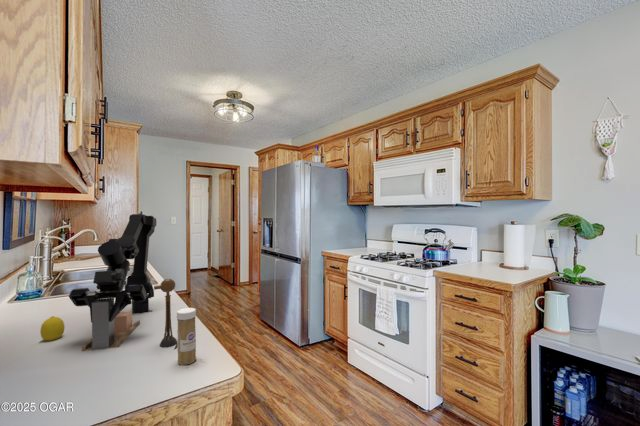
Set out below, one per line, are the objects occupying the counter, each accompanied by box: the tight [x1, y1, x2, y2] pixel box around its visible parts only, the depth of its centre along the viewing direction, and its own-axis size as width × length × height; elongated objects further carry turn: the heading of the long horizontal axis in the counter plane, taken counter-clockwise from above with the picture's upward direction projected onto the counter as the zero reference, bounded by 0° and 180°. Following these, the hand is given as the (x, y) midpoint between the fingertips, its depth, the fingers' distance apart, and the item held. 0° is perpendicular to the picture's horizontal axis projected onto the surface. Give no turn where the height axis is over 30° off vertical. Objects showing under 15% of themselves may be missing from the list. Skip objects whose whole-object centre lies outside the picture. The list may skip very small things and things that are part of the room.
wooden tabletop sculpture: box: [153, 278, 178, 350], centre depth 87 cm, size 6×5×20 cm
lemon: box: [40, 315, 65, 342], centre depth 93 cm, size 6×6×8 cm
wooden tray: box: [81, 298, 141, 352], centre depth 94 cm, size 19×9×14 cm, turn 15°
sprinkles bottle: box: [176, 307, 197, 366], centre depth 79 cm, size 5×5×13 cm
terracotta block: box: [114, 310, 133, 333], centre depth 99 cm, size 5×5×5 cm
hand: (101, 321), depth 86 cm, fingers closed on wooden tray, 4 cm apart
